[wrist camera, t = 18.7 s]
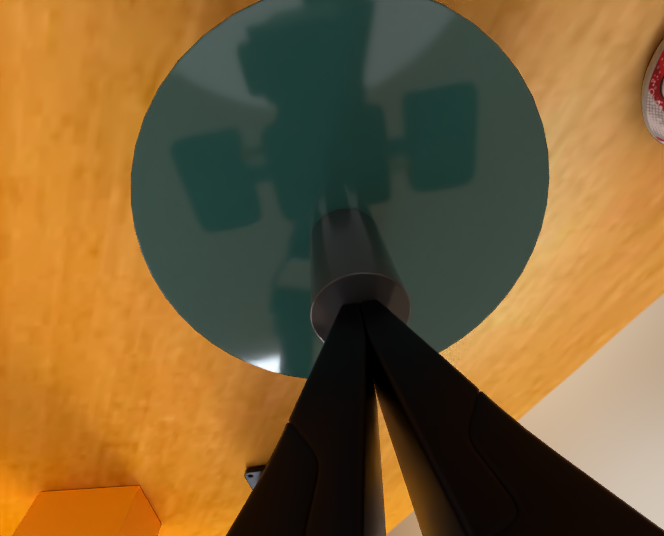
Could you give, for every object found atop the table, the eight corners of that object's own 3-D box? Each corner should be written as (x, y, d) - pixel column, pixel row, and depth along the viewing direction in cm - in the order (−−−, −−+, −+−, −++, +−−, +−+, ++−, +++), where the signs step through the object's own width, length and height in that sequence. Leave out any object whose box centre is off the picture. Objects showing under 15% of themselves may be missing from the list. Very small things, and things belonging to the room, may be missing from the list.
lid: (510, 334, 15) (589, 438, 11) (224, 382, 16) (192, 500, 12) (562, -61, 9) (827, -197, 4) (56, 47, 9) (-180, 26, 5)
